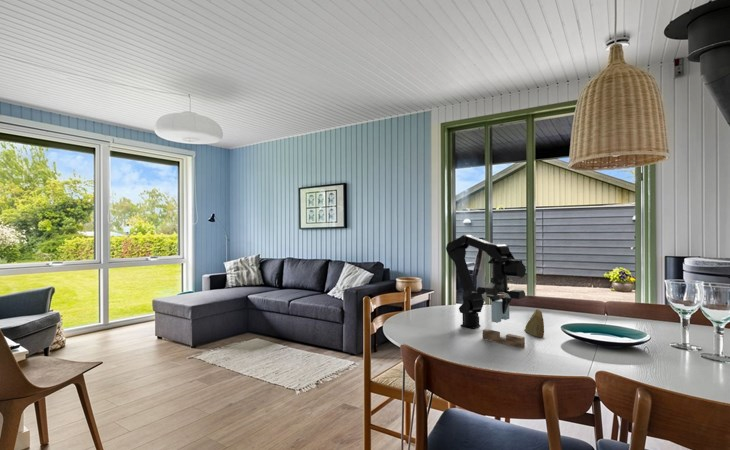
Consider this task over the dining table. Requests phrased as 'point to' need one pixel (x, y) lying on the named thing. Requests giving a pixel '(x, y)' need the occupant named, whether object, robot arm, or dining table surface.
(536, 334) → the rock
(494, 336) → the walnut rail
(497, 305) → the blue-grey rectangular slab
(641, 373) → the dining table surface
